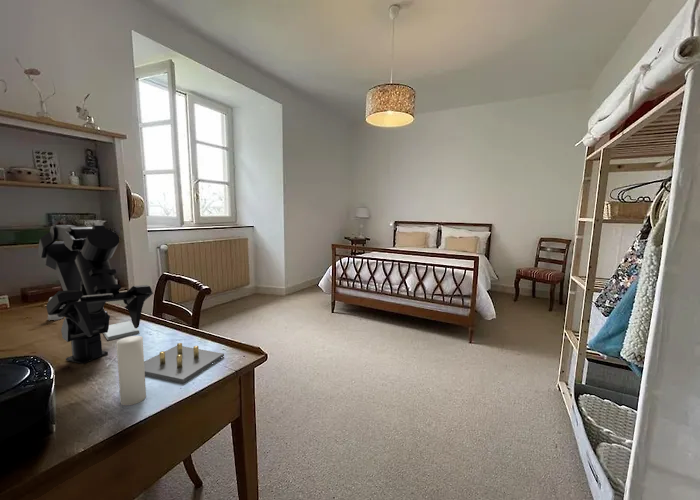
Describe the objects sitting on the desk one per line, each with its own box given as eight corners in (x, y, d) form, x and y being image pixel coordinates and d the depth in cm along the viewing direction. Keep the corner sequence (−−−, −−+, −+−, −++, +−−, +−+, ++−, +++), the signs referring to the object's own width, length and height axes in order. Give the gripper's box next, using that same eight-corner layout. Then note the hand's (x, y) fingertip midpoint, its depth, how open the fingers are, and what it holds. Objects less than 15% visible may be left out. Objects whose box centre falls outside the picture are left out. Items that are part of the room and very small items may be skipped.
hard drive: (139, 330, 98) (130, 320, 107) (107, 337, 92) (100, 326, 101) (139, 335, 99) (130, 325, 107) (107, 342, 93) (100, 331, 101)
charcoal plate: (130, 371, 75) (129, 356, 74) (177, 348, 88) (177, 335, 88) (183, 383, 70) (182, 367, 70) (224, 356, 84) (223, 343, 83)
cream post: (115, 403, 63) (110, 342, 61) (135, 391, 67) (132, 334, 65) (131, 407, 61) (127, 345, 60) (151, 395, 66) (147, 337, 64)
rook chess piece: (52, 317, 111) (50, 295, 110) (67, 316, 113) (65, 295, 112) (44, 321, 107) (42, 299, 106) (60, 320, 108) (58, 298, 107)
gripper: (122, 286, 83) (139, 338, 79) (28, 292, 66) (44, 359, 62) (144, 264, 80) (163, 318, 76) (50, 265, 63) (69, 334, 59)
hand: (115, 331), depth 68 cm, fingers open, 9 cm apart
